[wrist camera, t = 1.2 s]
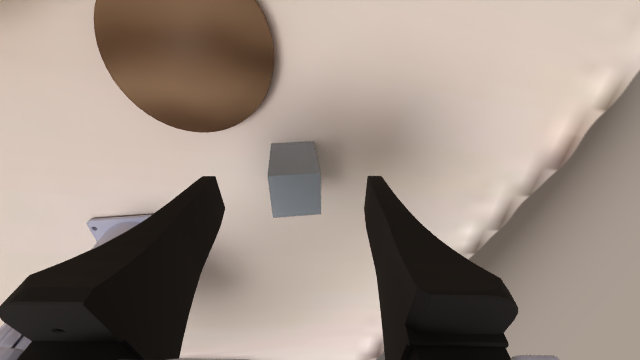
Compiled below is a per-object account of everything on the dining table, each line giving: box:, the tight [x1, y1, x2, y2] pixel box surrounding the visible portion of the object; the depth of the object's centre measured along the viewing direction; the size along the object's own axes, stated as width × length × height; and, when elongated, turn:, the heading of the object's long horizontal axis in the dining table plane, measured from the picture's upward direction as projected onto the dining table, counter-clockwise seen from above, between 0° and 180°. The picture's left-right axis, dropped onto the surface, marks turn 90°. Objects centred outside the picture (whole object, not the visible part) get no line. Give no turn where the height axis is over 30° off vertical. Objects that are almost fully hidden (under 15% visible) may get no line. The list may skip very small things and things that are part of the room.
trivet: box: [94, 0, 274, 132], centre depth 21 cm, size 12×12×2 cm
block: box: [268, 142, 321, 218], centre depth 25 cm, size 4×4×6 cm
